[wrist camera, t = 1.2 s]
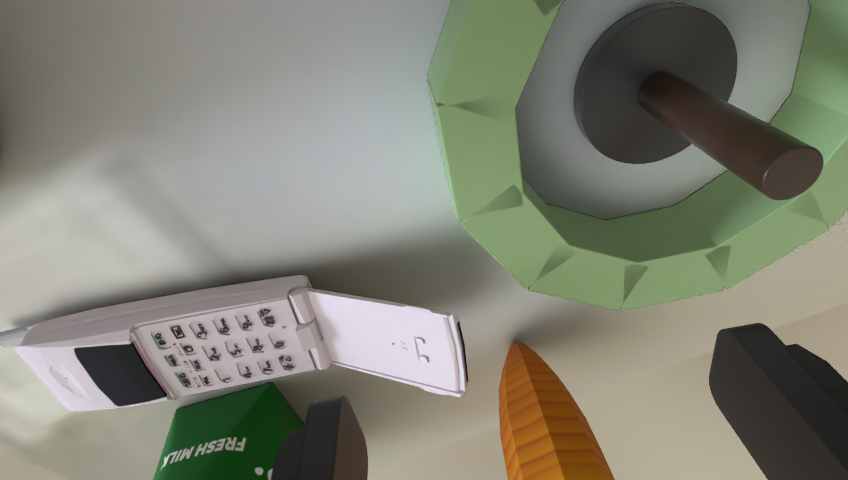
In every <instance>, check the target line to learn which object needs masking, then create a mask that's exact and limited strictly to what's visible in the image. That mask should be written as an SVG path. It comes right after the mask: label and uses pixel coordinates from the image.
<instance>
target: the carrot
mask: <svg viewBox="0 0 848 480" xmlns="http://www.w3.org/2000/svg"><path fill="white" fill-rule="evenodd" d="M499 415H500V434H501V441H502V447H503V453H504V459H505V465H506V470H507V475H508V480H615V479H614V477H613V475H612V473H611V470H610V468H609V467H608V464H607V462H606V459H605V457H604V455H603V453H602V451H601V448H600V447H599V444H598V442H597V440H596V438H595V436H594V434H593V432H592V430H591V428H590V426H589V424H588V422H587V420H586V418H585V416H584V415H583V413H582V412H581V410H580V408H579V407H578V405H577V404H576V402H575V401H574V399H573V397H572V396H571V394H570V393H569V392H568V390H567V389H566V387H565V386H564V384H563V383H562V382H561V380H560V379H559V377H558V376H557V375H556V374H555V373H554V372H553V370H552V369H551V368H550V367H549V366H548V365H547V364H546V363H545V362H544V361H543V360H542V359H541V358H540V357H539V356H538V355H537V353H535V352H534V351H533V350H531V349H530V348H529V347H527V346H526V345H524V344H522V343H514V344H513V345H512V346H510V349H509V351H508V355H507V358H506V361H505V364H504V367H503V370H502V376H501V382H500V388H499Z"/></svg>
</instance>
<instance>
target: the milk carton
mask: <svg viewBox="0 0 848 480" xmlns="http://www.w3.org/2000/svg"><path fill="white" fill-rule="evenodd" d="M302 429H305V425H304V424H303V423H302V421H301V420H300V419H299V417H298V416H297V415H296V413H295V412H294V411H293V409H292V408H291V407H290V405H289V404H288V403H287V401H286V400H285V399H284V397H283V396H282V395H281V393H280V392H279V391H278V389H277V388H276V387H275V386H274V384H273V383H272V382H271V383H268V384H265V385H261V386H258V387H254V388H250V389H247V390H243V391H240V392H236V393H233V394H229V395H226V396H222V397H219V398H215V399H212V400H208V401H205V402H201V403H198V404H194V405H191V406H187V407H184V408H180V409H177V410H176V412H175V415H174V418H173V421H172V424H171V427H170V430H169V433H168V436H167V439H166V442H165V445H164V448H163V451H162V454H161V457H160V460H159V463H158V466H157V469H156V472H155V476H154V479H153V480H271V475H272V471H273V466H274V461H275V457H276V454H277V452H278V451H279V449H280V447H281V446H282V444H283V442H284V441H285V439H286V437H287V436H288V434H289V432H290V431H296V430H302Z"/></svg>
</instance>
